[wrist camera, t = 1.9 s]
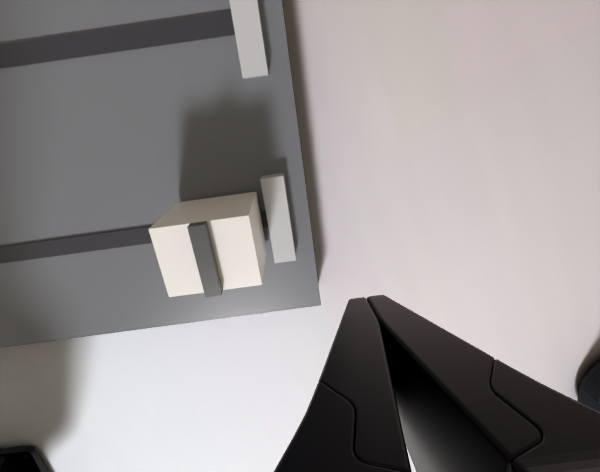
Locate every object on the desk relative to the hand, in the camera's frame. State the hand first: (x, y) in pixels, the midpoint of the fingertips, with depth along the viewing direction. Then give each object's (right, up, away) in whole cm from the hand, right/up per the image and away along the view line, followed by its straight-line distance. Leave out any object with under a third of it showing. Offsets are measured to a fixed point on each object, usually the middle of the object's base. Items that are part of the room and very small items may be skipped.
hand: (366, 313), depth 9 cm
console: (-14, +6, +9) cm, 17 cm away
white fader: (-5, +2, +8) cm, 10 cm away
